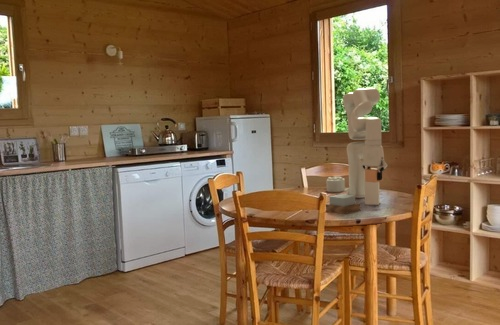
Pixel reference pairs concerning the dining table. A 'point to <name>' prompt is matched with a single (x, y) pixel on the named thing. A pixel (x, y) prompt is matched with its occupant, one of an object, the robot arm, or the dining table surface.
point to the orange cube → (372, 175)
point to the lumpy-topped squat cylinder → (335, 184)
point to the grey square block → (342, 200)
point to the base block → (343, 208)
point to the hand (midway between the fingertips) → (373, 179)
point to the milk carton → (371, 193)
